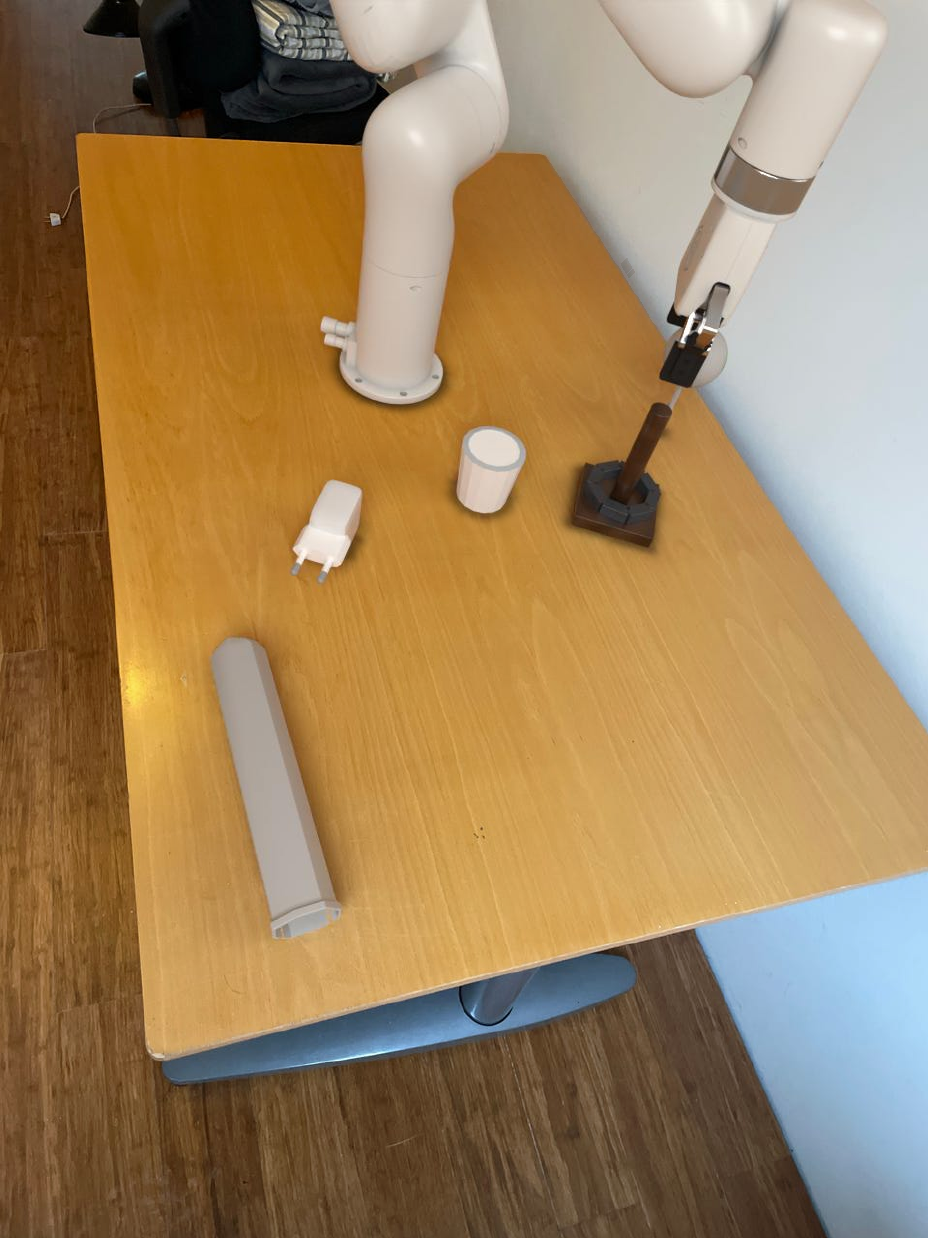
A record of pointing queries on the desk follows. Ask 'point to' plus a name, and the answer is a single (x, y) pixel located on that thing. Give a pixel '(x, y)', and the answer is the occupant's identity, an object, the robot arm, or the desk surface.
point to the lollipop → (710, 366)
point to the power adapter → (329, 527)
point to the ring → (615, 508)
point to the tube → (272, 792)
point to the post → (625, 485)
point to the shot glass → (488, 468)
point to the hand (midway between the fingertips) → (677, 352)
